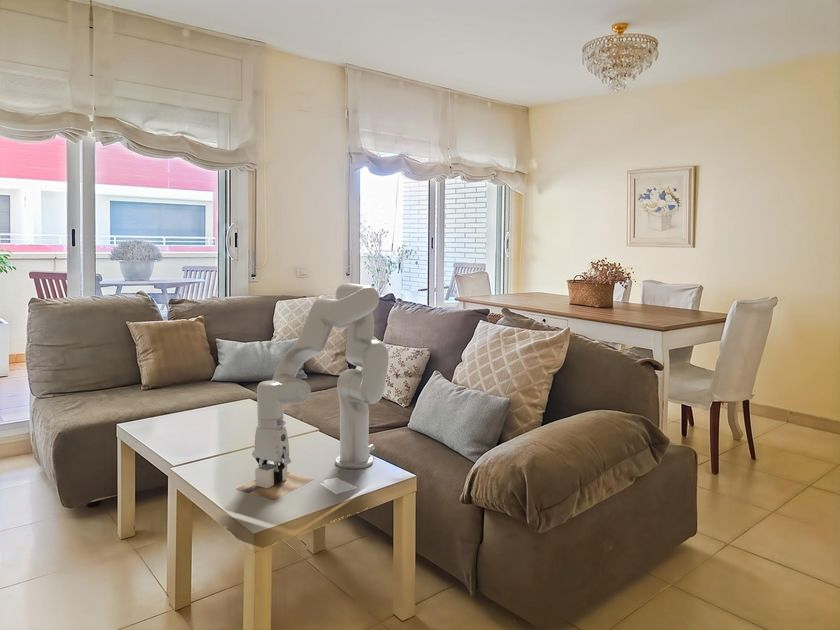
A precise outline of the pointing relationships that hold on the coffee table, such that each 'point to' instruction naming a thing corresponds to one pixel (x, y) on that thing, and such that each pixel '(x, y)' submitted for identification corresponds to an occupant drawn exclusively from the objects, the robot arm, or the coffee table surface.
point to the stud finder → (267, 475)
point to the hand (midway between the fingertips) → (271, 480)
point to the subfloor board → (276, 487)
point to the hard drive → (337, 485)
